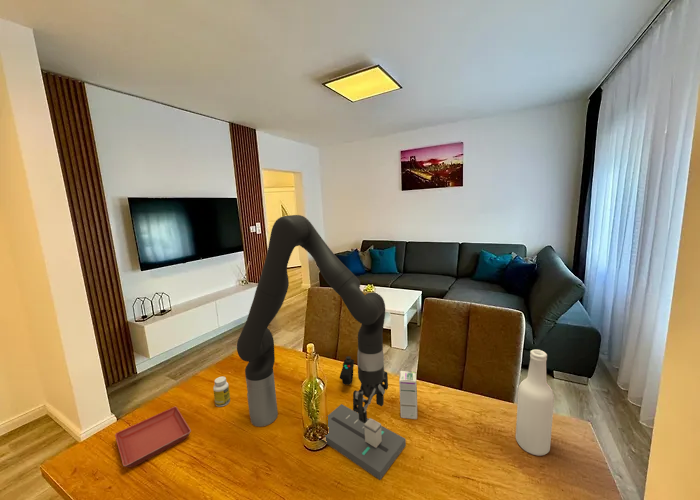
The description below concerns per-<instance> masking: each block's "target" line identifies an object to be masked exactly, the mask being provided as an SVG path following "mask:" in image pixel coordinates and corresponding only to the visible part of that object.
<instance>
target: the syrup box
mask: <svg viewBox="0 0 700 500" xmlns="http://www.w3.org/2000/svg"><path fill="white" fill-rule="evenodd" d="M398 382H399V384H398V385H399V402H400V403H399V408H400V409H399V410H400V418H403V419H411V420H417V419H418V390H417V389H418V387H417V385H418V384H417V371H411V370H399V380H398Z"/></svg>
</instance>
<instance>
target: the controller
mask: <svg viewBox="0 0 700 500" xmlns="http://www.w3.org/2000/svg"><path fill="white" fill-rule="evenodd" d="M354 363H355V360H354V359H352V357H351V356H349V355H348V356H345V360H344V361H343V363H342V368H341V371H340V374H339V380H341V381H342V384H343V385H345V386H350V385H352V383H353V379H354V365H355V364H354Z"/></svg>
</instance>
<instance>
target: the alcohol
mask: <svg viewBox="0 0 700 500" xmlns="http://www.w3.org/2000/svg"><path fill="white" fill-rule="evenodd" d="M529 352H530V354H529V356H530V357H529V359H530V360H529V365H528V371H527V376H526V378H524V379H523V380H522V381H521V382H520V383H519V385H518V388H517V389H518V390H517V392H518V393H517V406H516V407H517V408H516V410H517V411H516V423H515V440H516V442H517V444H518V445H519V447H520V448H521V449H522V450H523V451H524V452H527V454H530V455H533V456H539V457H541V456H545V455H546V454H548V453H549V452H550V450H551V443H552V440H551V439H552V430H553V428H552V427H553V419H554V417H553V415H554V405H555V404H554V403H555V395H554V391H553V389H552V388H551V386H550V385H549V384H548V382H547V381H548V380H547V360H548V354H547V353H546V352H545V351H543V350H541V349H538V348H537V349H532V350H530V351H529Z"/></svg>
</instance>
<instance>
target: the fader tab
mask: <svg viewBox="0 0 700 500" xmlns="http://www.w3.org/2000/svg"><path fill="white" fill-rule="evenodd" d="M368 419H369V420H368V421H367V422H366V423H365V424H364V428H365V442H367V443H369V444H370V445H372V446H374V447H375V448H376V447H377V446H378V445H379V444H380V443H381V442H382V435H381V426H382V423H380V422H378V421H376V420H375V419H373V418H371V417H370V418H368Z"/></svg>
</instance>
